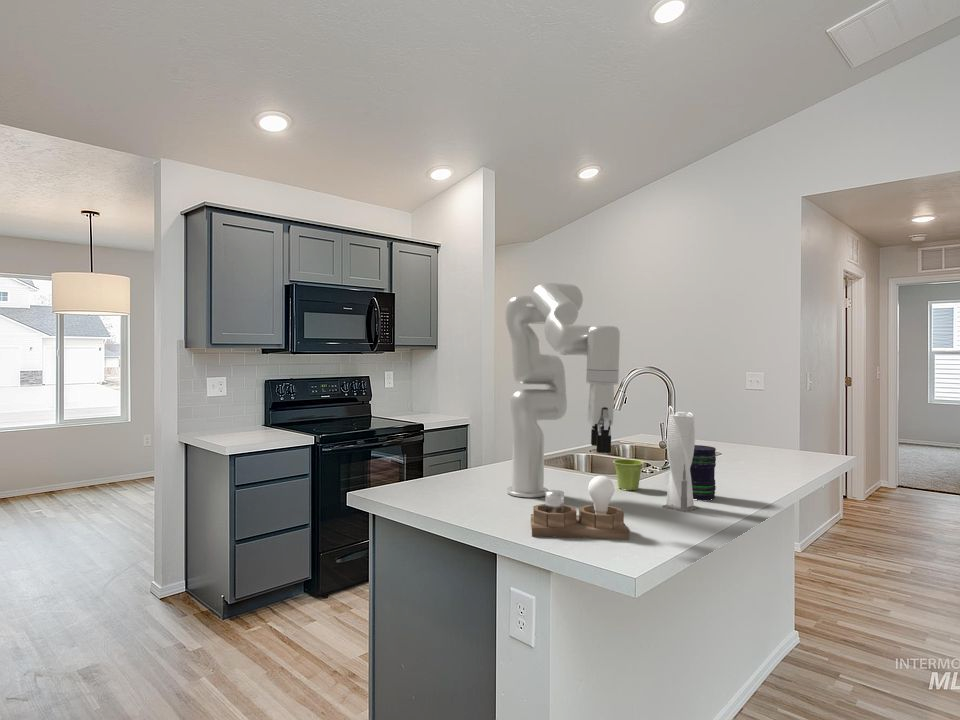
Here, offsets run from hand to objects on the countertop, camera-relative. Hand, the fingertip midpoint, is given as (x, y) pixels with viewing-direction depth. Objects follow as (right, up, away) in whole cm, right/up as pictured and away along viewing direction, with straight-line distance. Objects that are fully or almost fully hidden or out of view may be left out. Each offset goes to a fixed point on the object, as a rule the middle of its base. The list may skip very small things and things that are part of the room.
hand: (600, 449), depth 141 cm
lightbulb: (0, -18, 0) cm, 18 cm away
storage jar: (+37, -20, +36) cm, 55 cm away
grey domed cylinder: (-11, -17, 0) cm, 20 cm away
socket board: (-6, -19, 0) cm, 20 cm away
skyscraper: (+27, -20, +24) cm, 41 cm away
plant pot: (+18, -20, +46) cm, 54 cm away
